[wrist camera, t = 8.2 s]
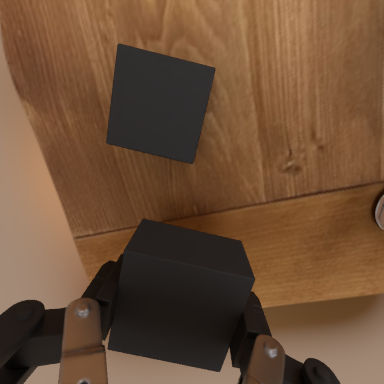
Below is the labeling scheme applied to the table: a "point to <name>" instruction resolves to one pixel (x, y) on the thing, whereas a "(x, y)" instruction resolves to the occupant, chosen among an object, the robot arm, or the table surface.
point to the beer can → (380, 213)
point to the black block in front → (180, 295)
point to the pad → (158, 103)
